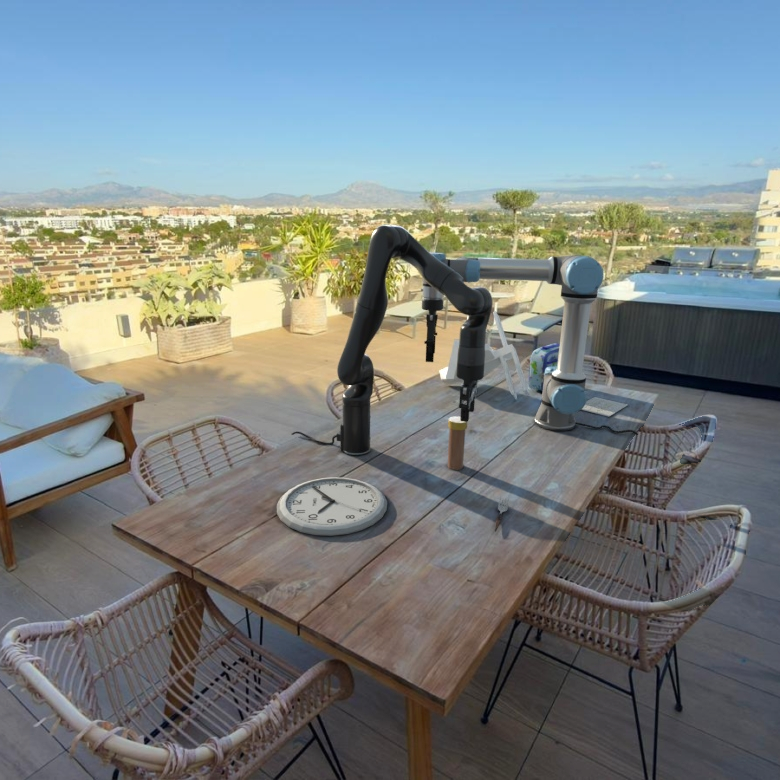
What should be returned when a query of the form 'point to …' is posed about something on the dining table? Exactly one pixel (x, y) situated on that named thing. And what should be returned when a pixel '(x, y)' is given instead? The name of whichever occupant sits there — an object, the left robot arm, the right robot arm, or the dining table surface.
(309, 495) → the wall clock
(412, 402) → the dining table surface
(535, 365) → the lunch box
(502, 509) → the fork
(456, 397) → the dining table surface
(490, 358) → the white plastic object
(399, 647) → the dining table surface
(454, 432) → the jar
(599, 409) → the invitation card
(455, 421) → the lid
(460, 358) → the left robot arm
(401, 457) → the dining table surface
